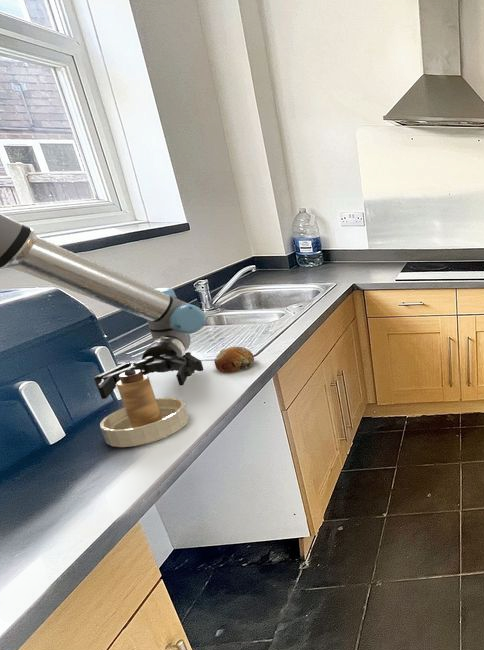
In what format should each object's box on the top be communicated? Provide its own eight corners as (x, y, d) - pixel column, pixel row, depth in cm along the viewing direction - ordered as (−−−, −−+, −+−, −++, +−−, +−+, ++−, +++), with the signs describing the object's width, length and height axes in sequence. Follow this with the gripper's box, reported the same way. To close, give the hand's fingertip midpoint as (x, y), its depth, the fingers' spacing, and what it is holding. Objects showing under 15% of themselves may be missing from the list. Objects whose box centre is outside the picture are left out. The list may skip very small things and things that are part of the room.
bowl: (96, 456, 84) (88, 437, 82) (119, 423, 96) (113, 406, 94) (182, 438, 90) (177, 420, 88) (194, 409, 102) (189, 392, 100)
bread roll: (255, 369, 132) (248, 345, 132) (258, 366, 124) (251, 340, 124) (218, 378, 126) (211, 353, 126) (219, 375, 118) (211, 348, 118)
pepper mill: (130, 437, 89) (108, 376, 84) (137, 425, 94) (116, 367, 89) (161, 431, 92) (140, 371, 87) (166, 420, 96) (147, 362, 91)
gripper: (97, 349, 104) (60, 383, 86) (216, 334, 115) (205, 360, 97) (107, 376, 106) (73, 414, 88) (223, 358, 117) (213, 389, 99)
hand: (142, 386), depth 93 cm, fingers open, 13 cm apart
